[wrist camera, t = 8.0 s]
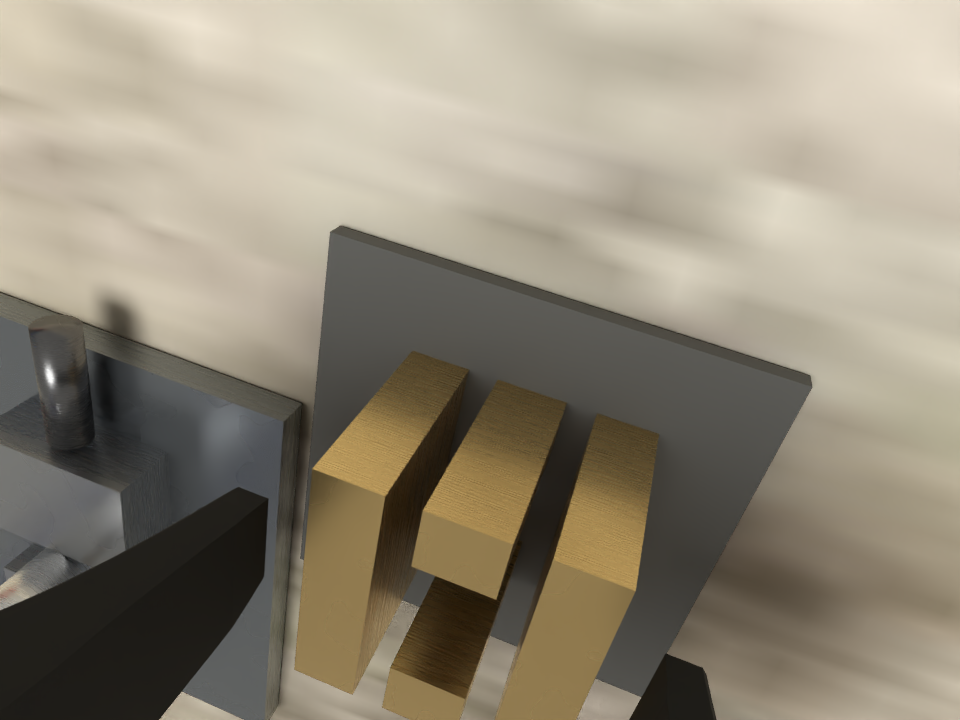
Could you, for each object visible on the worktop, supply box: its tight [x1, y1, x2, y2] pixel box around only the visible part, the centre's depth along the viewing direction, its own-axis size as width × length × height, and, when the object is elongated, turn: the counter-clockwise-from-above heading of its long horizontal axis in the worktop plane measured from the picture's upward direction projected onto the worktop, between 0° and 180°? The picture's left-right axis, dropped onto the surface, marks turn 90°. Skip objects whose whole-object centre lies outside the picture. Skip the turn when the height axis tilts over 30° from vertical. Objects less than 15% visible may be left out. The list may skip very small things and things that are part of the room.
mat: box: [300, 226, 812, 697], centre depth 15 cm, size 9×9×1 cm
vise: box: [0, 293, 302, 720], centre depth 17 cm, size 13×10×6 cm
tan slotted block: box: [294, 351, 659, 720], centre depth 13 cm, size 5×5×4 cm
